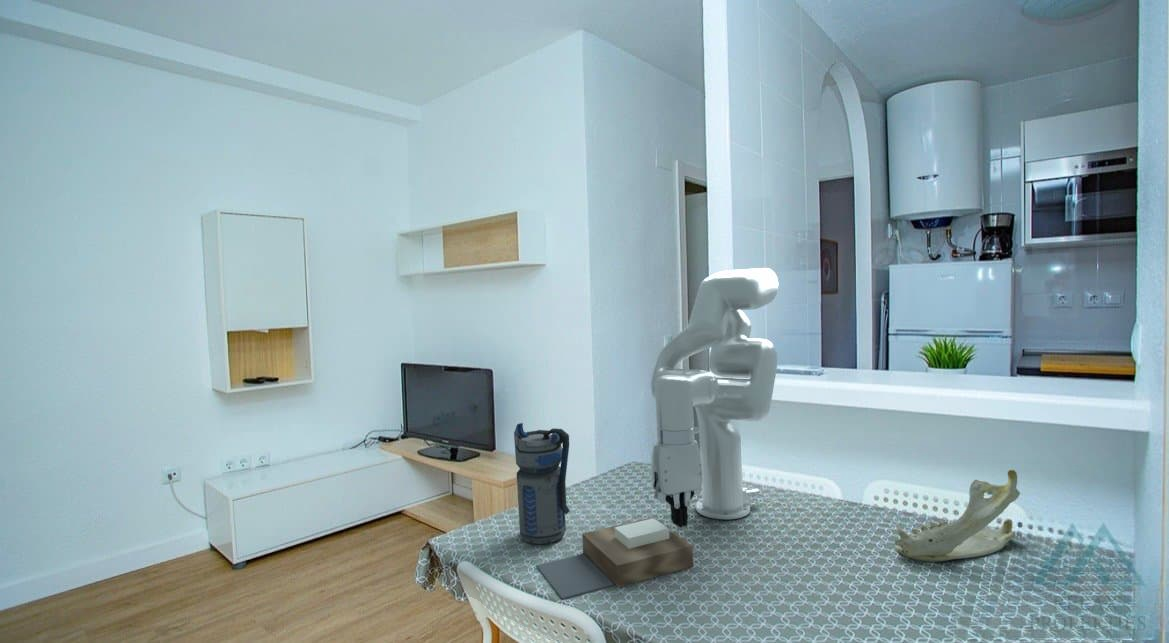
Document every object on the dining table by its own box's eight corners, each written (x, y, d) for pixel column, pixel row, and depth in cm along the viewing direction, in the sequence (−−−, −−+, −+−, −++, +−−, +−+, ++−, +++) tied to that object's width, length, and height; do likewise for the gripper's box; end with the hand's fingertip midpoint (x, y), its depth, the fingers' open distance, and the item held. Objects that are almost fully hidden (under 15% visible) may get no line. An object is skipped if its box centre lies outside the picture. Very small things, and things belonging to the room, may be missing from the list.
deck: (650, 535, 125) (650, 517, 124) (693, 566, 110) (692, 545, 110) (583, 552, 118) (582, 533, 118) (618, 587, 104) (617, 565, 103)
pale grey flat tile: (653, 527, 119) (653, 518, 119) (669, 538, 114) (668, 528, 114) (614, 537, 116) (614, 527, 115) (628, 548, 110) (628, 538, 110)
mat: (583, 555, 117) (583, 553, 117) (613, 585, 104) (613, 583, 104) (536, 566, 113) (536, 565, 113) (562, 599, 100) (562, 597, 100)
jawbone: (908, 530, 102) (878, 490, 111) (906, 596, 110) (878, 554, 119) (1050, 498, 101) (1008, 460, 110) (1037, 567, 109) (1000, 527, 118)
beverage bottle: (562, 551, 119) (555, 432, 118) (508, 542, 125) (501, 428, 124) (583, 532, 128) (577, 421, 127) (533, 524, 134) (527, 418, 133)
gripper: (696, 427, 124) (699, 511, 124) (634, 437, 118) (638, 525, 118) (717, 434, 117) (721, 523, 118) (653, 445, 111) (657, 539, 112)
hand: (679, 524), depth 118 cm, fingers closed
